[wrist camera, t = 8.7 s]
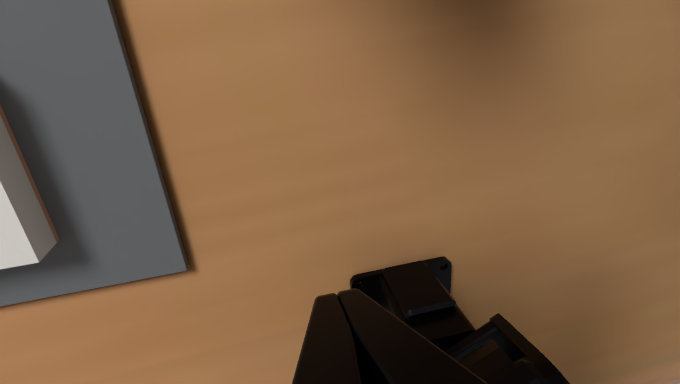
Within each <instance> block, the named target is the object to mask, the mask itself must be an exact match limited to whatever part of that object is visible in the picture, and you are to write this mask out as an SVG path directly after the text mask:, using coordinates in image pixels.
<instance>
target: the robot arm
mask: <svg viewBox="0 0 680 384" xmlns="http://www.w3.org/2000/svg"><path fill="white" fill-rule="evenodd" d="M444 263H445V264H444ZM442 264H444V265H443V266H442V267H441V265H442ZM359 281H362V282H361V283H360V284H356V283H357V282H359ZM450 288H451V262H450V261H449V260H448V259H447V258H446V257H438V258H433V259H428V260H424V261H417V262H412V263H407V264H403V265H398V266H393V267H388V268H385V269H380V270H376V271H371V272H366V273H361V274H357V275H354V276H353V277H352V278H351V280H350V289H349V290H345V291H340V292H339V293H338V294H337V295H336V294H335V293H331V294H326V295H321V296H318V297H316V299H315V301H314V305H313V309H312V312H311V316H310V320H309V323H308V327H307V331H306V334H305V338H304V342H303V345H302V349H301V353H300V356H299V360H298V364H297V367H296V371H295V375H294V378H293V382H292V384H570V383H569V382H568V381H567V380H566V379H565V377H564V376H563V375H562V374H561V373H560V372H559V370H558V369H557V368H556V367H555V366H554V365H553V364H552V363H551V362H550V361H549V360H548V359H547V358H546V357H545V356H544V355H543V354H542V353H541V352H540V351H539V350H538V349H537V348H536V347H535V346H533V345H532V344H531V343H530V342H529V341H528V340H527V339H526V338H525V337H524V336H523V335H522V334H521V333H519V332H518V331H517V330H516V329H515V328H514V327H513V326H512V325H511V324H510V323H509V322H508V321H507V320H505V319H504V318H503V317H502V316H501V315H500V314H499V313H498V314H496V315H495V316H493V317H492V318H490V321H489V322H488V323H486V324H485V325H483V326H482V327H480V328H478V329H477V330H476V329H475V328H474V327H473V325H472V324H471V323H470V321H469V320H468V319H467V317H466V316H465V315H464V314H463V312H462V311H461V310H460V308H459V307H458V306H457V305H456V302H455V300H454V299H453V297H452V296H451V295H450Z"/></svg>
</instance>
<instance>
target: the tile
mask: <svg viewBox="0 0 680 384" xmlns="http://www.w3.org/2000/svg"><path fill="white" fill-rule="evenodd" d="M59 240H60V239H59V237H58V235H57V232H56V230H55V228H54V226H53V223H52V221H51V219H50V217H49V214H48V212H47V210H46V207H45V205H44V203H43V201H42V198H41V196H40V194H39V191H38V189H37V187H36V185H35V182H34V180H33V178H32V175H31V173H30V171H29V169H28V166H27V164H26V162H25V159H24V157H23V155H22V153H21V150H20V148H19V146H18V144H17V141H16V139H15V137H14V134H13V132H12V130H11V128H10V125H9V123H8V121H7V118H6V116H5V114H4V112H3V109H2V107H1V105H0V269H5V268H11V267H16V266H22V265H28V264H33V263H39V262H40V261H41V260H42V259H43V258H44V256H45V255H46V254H47V253H48V252H49V251H50V250H51V249H52V248H53V246H54V245H55V244H56V243H57V242H58V241H59Z"/></svg>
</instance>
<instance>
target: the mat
mask: <svg viewBox="0 0 680 384" xmlns="http://www.w3.org/2000/svg"><path fill="white" fill-rule="evenodd" d="M0 105H1V107H2V109H3V112H4V114H5V116H6V118H7V121H8V123H9V125H10V128H11V130H12V132H13V134H14V137H15V139H16V141H17V144H18V146H19V148H20V150H21V153H22V155H23V157H24V159H25V162H26V164H27V166H28V169H29V171H30V173H31V175H32V178H33V180H34V182H35V185H36V187H37V189H38V191H39V194H40V196H41V198H42V201H43V203H44V205H45V207H46V210H47V212H48V214H49V217H50V219H51V221H52V223H53V226H54V228H55V230H56V232H57V235H58V237H59V239H60V240H59V241H58V242H57V243H56V244H55V245H54V246H53V248H52V249H51V250H50V251H49V252H48V253H47V254H46V255H45V256H44V258H43V259H42V260H41V261H40V262H39V263H33V264H28V265H22V266H16V267H11V268H5V269H0V306H5V305H11V304H16V303H21V302H26V301H31V300H37V299H42V298H47V297H52V296H58V295H63V294H68V293H73V292H78V291H84V290H89V289H94V288H99V287H105V286H110V285H115V284H120V283H125V282H131V281H136V280H141V279H146V278H152V277H157V276H162V275H167V274H172V273H178V272H183V271H187V268H188V261H187V258H186V255H185V251H184V248H183V244H182V241H181V237H180V234H179V230H178V227H177V224H176V220H175V217H174V213H173V210H172V206H171V203H170V199H169V196H168V193H167V189H166V186H165V182H164V179H163V175H162V172H161V169H160V165H159V162H158V158H157V155H156V151H155V148H154V144H153V141H152V138H151V134H150V131H149V127H148V124H147V120H146V117H145V113H144V110H143V107H142V103H141V100H140V96H139V93H138V89H137V86H136V83H135V79H134V76H133V72H132V69H131V65H130V62H129V58H128V55H127V52H126V48H125V45H124V41H123V38H122V34H121V31H120V27H119V24H118V21H117V17H116V14H115V10H114V7H113V3H112V0H0Z"/></svg>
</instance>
